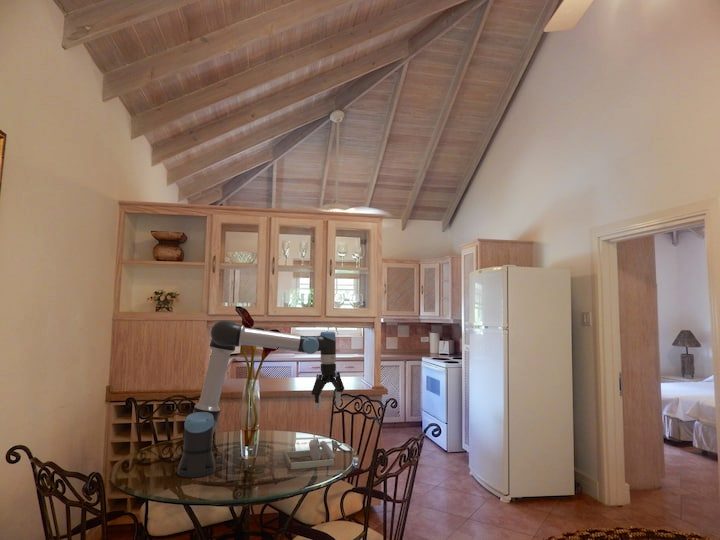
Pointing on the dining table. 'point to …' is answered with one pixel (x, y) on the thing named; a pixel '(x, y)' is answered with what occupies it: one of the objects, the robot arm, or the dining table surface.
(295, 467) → the keeper channel
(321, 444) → the wall hook
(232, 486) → the dining table surface
